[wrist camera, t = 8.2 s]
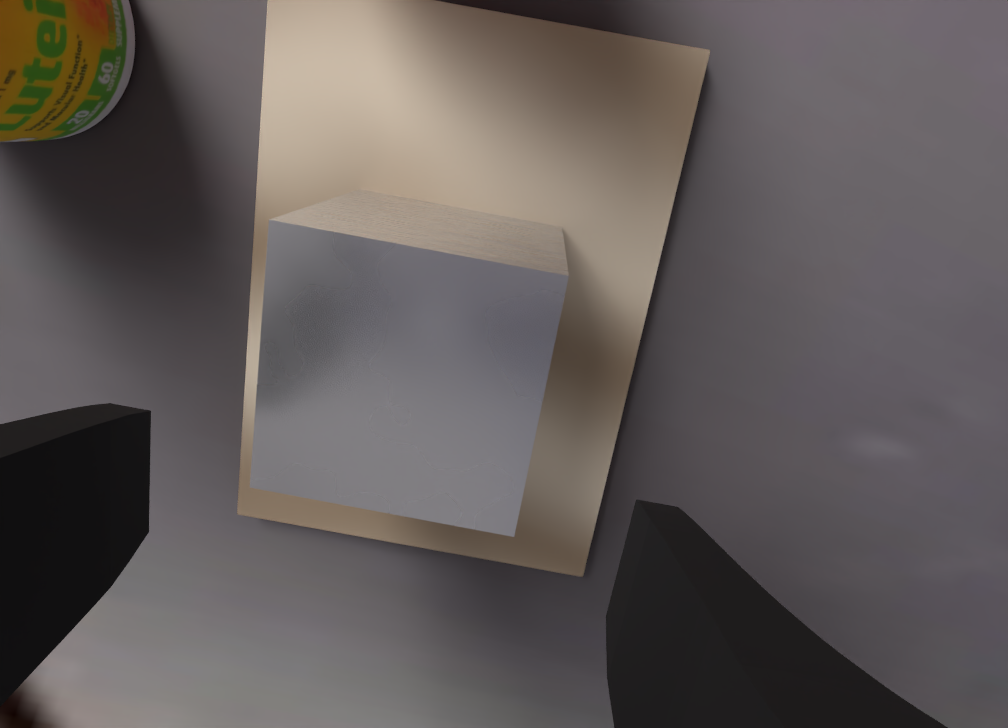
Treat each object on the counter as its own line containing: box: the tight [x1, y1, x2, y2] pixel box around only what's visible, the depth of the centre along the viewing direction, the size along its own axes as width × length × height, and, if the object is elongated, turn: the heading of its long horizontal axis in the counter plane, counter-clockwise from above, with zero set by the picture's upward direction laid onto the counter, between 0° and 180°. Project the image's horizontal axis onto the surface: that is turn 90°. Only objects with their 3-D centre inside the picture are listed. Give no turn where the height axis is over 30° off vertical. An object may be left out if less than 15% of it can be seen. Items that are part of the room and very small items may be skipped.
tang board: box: [237, 0, 710, 577], centre depth 17 cm, size 14×10×4 cm
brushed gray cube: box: [250, 189, 569, 537], centre depth 15 cm, size 5×5×6 cm
